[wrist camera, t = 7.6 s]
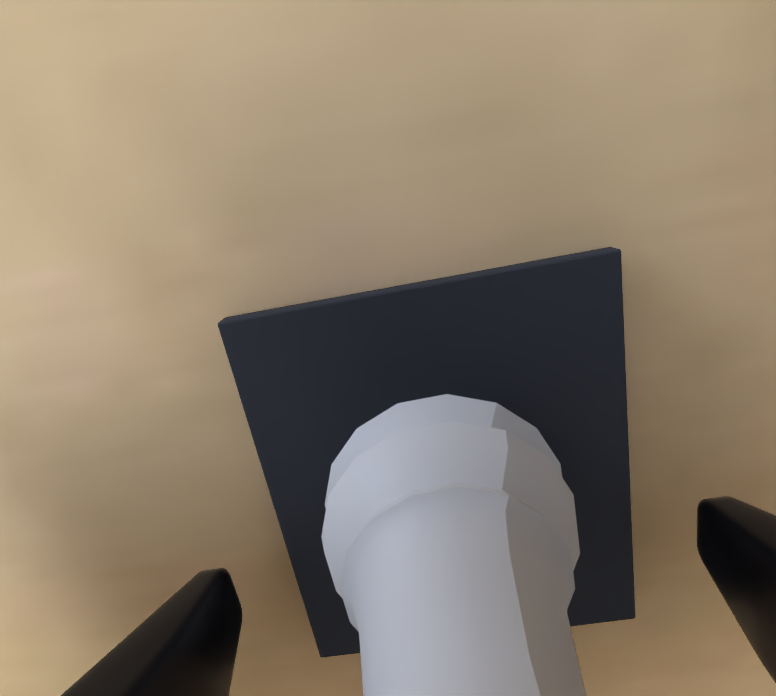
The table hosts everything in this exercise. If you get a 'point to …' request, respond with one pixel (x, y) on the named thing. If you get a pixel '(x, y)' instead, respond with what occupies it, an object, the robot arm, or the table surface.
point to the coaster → (455, 377)
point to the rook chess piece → (455, 552)
